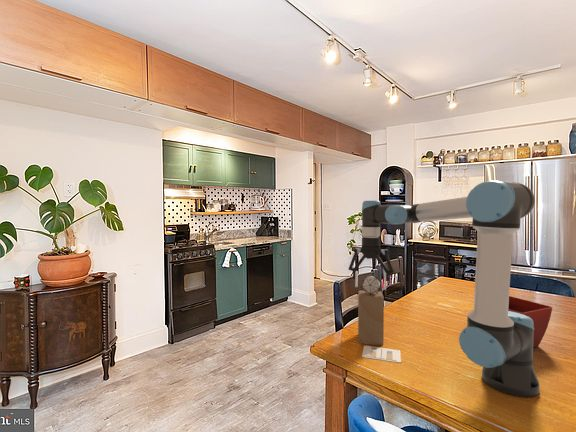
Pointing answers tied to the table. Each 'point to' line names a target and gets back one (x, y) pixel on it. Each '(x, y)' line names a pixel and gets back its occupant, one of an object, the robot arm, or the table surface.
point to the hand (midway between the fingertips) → (370, 287)
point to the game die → (371, 284)
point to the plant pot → (532, 315)
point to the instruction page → (382, 354)
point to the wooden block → (370, 318)
